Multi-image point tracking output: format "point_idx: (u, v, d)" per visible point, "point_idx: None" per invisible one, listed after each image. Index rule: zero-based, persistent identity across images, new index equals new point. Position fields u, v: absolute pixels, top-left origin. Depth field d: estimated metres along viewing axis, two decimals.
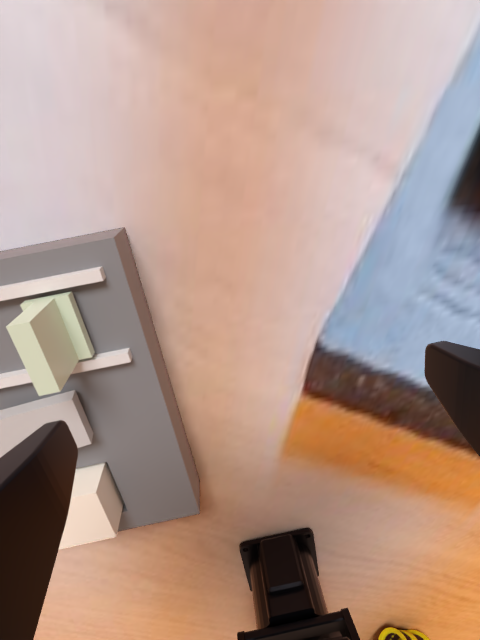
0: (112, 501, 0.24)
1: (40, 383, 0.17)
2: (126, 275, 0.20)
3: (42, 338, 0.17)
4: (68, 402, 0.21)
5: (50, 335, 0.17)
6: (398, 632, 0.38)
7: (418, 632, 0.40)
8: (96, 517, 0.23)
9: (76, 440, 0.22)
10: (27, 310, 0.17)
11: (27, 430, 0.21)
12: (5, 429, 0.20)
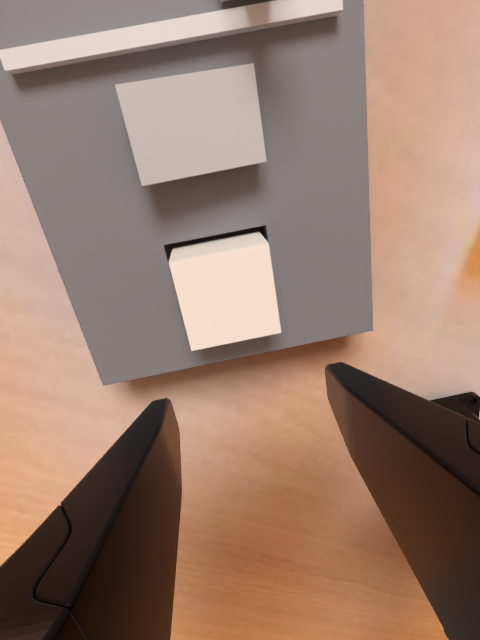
0: None
1: None
2: None
3: None
4: (247, 69, 0.13)
5: None
6: None
7: None
8: (261, 293, 0.16)
9: (247, 150, 0.14)
10: None
11: (182, 113, 0.13)
12: (151, 103, 0.13)
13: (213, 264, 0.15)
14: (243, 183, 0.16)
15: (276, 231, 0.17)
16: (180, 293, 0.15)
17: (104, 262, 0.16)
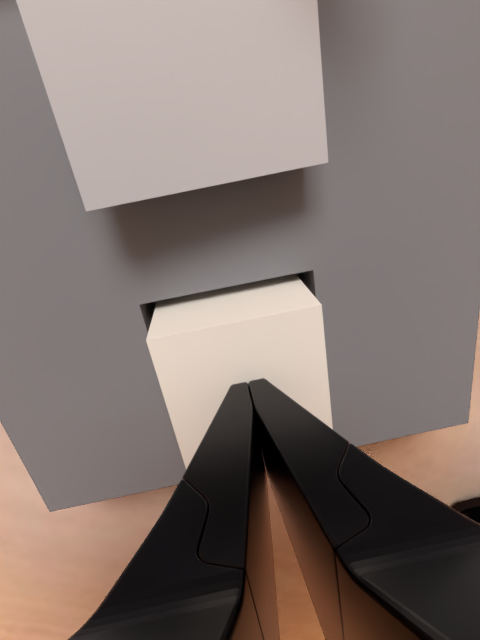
0: None
1: None
2: None
3: None
4: None
5: None
6: None
7: None
8: (304, 384, 0.09)
9: (294, 140, 0.07)
10: None
11: (166, 61, 0.06)
12: (99, 38, 0.06)
13: (225, 341, 0.09)
14: (277, 200, 0.09)
15: (330, 279, 0.10)
16: (167, 388, 0.09)
17: (38, 333, 0.10)
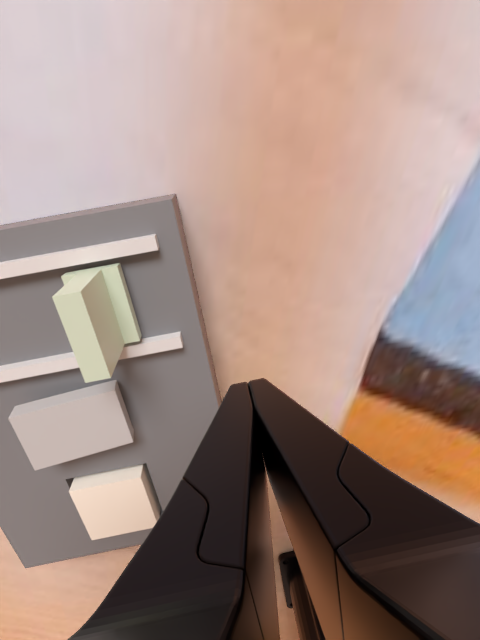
0: (153, 488, 0.23)
1: (88, 367, 0.14)
2: (182, 245, 0.17)
3: (93, 313, 0.14)
4: (110, 393, 0.18)
5: (99, 311, 0.15)
6: None
7: None
8: (139, 505, 0.21)
9: (116, 438, 0.19)
10: (72, 281, 0.15)
11: (62, 425, 0.18)
12: (37, 423, 0.17)
13: (101, 490, 0.21)
14: None
15: (155, 466, 0.21)
16: (79, 508, 0.21)
17: (19, 492, 0.21)
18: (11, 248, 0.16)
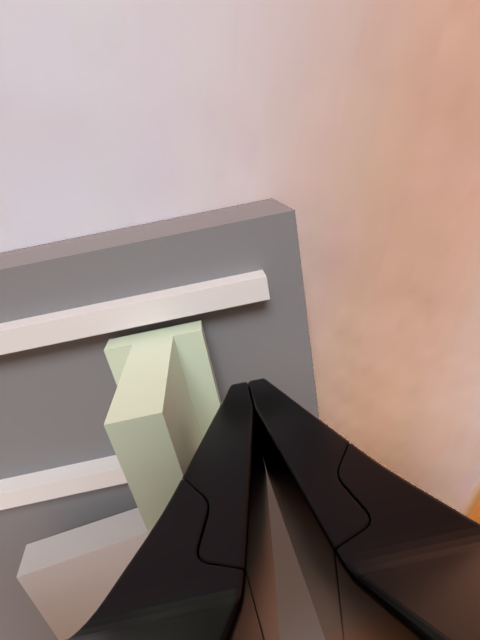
0: None
1: None
2: None
3: (178, 441, 0.07)
4: None
5: (182, 423, 0.08)
6: None
7: None
8: None
9: None
10: (131, 368, 0.08)
11: (103, 576, 0.11)
12: (64, 579, 0.11)
13: None
14: None
15: None
16: None
17: (34, 639, 0.14)
18: (15, 301, 0.09)
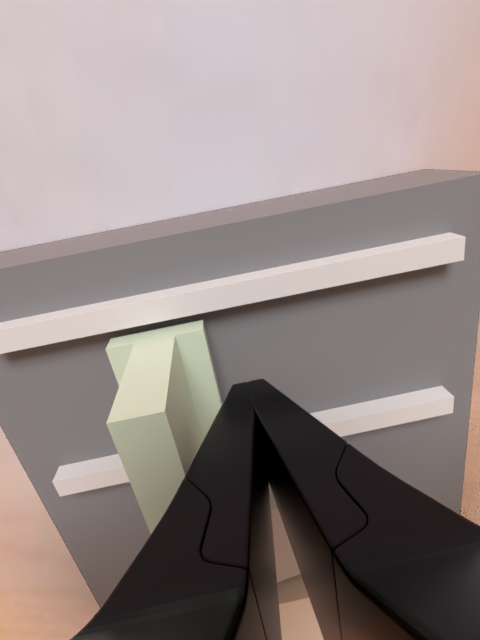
0: None
1: None
2: None
3: (180, 440, 0.07)
4: None
5: (184, 423, 0.08)
6: None
7: None
8: None
9: None
10: (133, 368, 0.08)
11: None
12: None
13: (282, 610, 0.14)
14: None
15: None
16: None
17: None
18: (213, 260, 0.09)
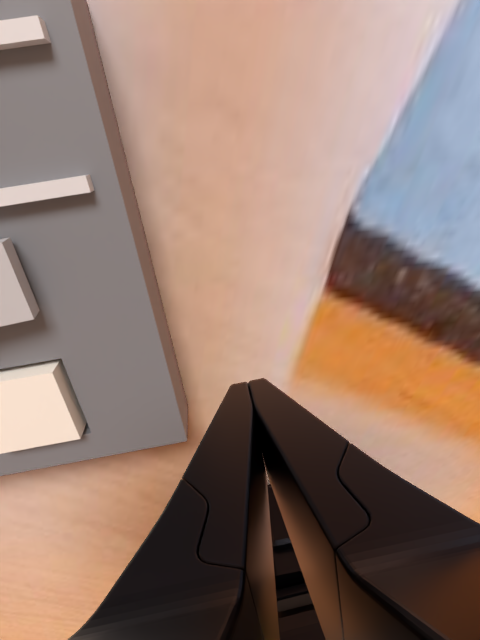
0: None
1: None
2: (83, 46, 0.13)
3: None
4: None
5: None
6: None
7: None
8: (54, 409, 0.18)
9: (11, 311, 0.15)
10: None
11: None
12: None
13: (5, 388, 0.17)
14: (31, 325, 0.17)
15: (72, 363, 0.18)
16: None
17: None
18: None
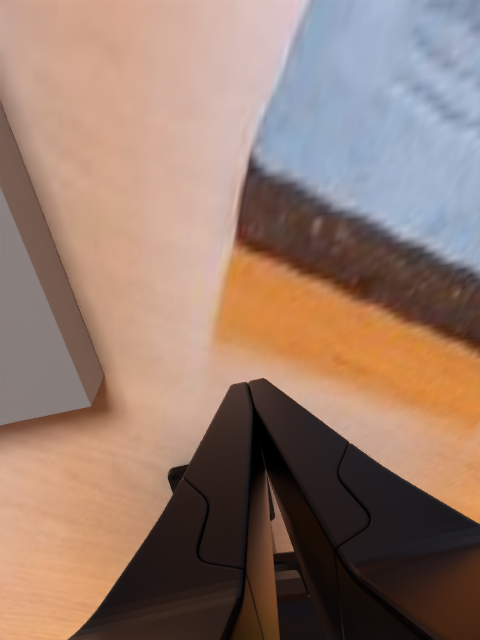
0: None
1: None
2: None
3: None
4: None
5: None
6: None
7: None
8: None
9: None
10: None
11: None
12: None
13: None
14: None
15: None
16: None
17: None
18: None
